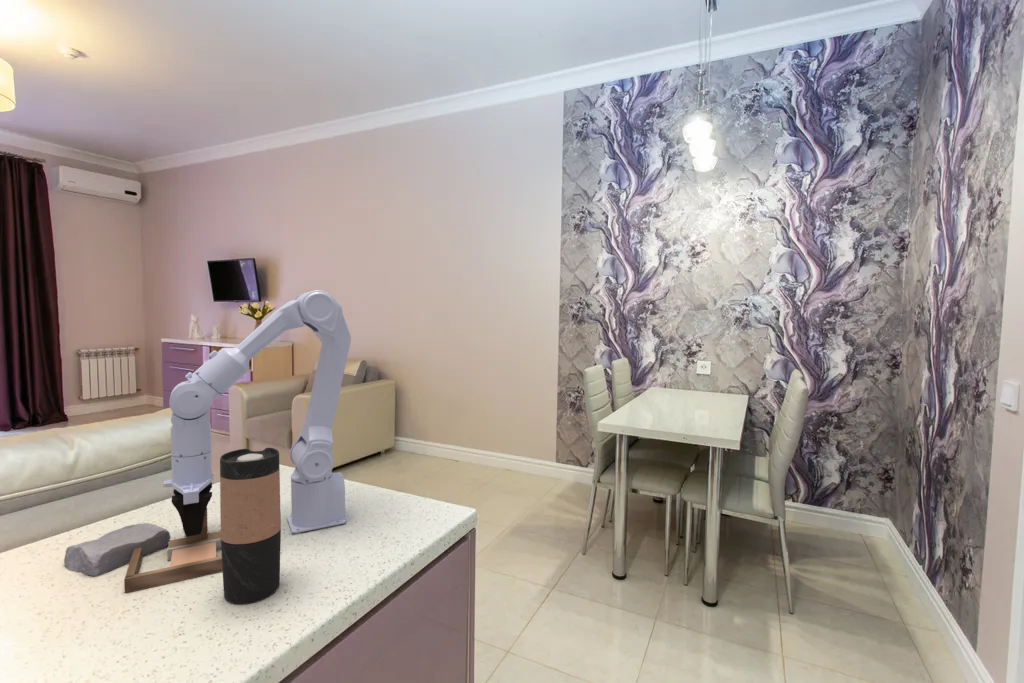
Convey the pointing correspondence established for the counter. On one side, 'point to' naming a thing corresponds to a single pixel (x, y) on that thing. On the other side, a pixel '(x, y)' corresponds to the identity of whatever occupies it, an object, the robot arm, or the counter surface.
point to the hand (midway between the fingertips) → (193, 531)
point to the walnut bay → (166, 572)
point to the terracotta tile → (193, 554)
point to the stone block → (115, 548)
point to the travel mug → (250, 524)
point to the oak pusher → (195, 539)
